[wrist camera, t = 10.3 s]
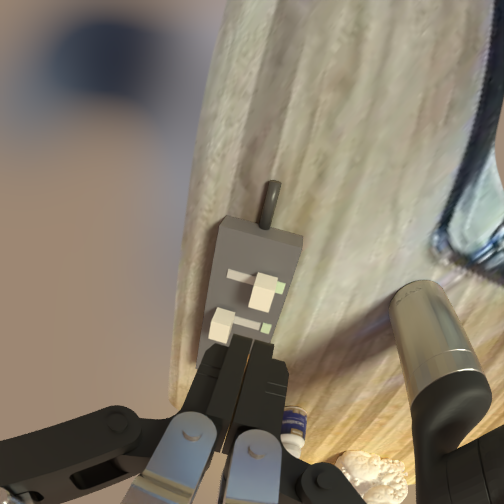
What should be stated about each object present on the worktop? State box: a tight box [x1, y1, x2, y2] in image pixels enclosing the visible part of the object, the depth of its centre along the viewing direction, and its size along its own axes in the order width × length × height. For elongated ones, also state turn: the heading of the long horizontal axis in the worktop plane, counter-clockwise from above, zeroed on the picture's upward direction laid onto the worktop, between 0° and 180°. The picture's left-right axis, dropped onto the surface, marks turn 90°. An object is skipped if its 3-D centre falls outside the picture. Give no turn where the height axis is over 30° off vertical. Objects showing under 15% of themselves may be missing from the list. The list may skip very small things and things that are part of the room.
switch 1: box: [208, 307, 235, 344], centre depth 42 cm, size 2×3×3 cm
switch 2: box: [248, 272, 278, 312], centre depth 38 cm, size 2×3×3 cm
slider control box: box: [196, 180, 303, 369], centre depth 44 cm, size 32×10×4 cm, turn 167°
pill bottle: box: [281, 406, 307, 458], centre depth 52 cm, size 6×6×10 cm
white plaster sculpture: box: [335, 450, 408, 504], centre depth 58 cm, size 19×20×20 cm
